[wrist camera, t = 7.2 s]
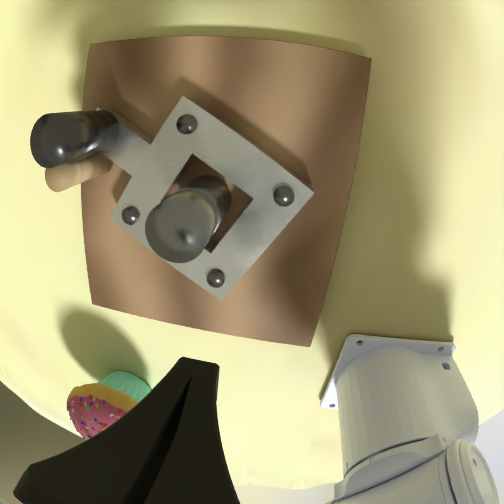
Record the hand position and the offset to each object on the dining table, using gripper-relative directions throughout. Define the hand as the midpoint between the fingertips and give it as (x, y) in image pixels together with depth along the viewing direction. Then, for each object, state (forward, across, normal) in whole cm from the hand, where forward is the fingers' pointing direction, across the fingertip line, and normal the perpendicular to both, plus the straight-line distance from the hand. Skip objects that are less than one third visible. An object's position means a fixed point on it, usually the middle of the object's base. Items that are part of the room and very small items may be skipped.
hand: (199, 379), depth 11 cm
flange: (+9, +4, -5) cm, 11 cm away
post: (+10, +2, -4) cm, 11 cm away
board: (+10, +2, -4) cm, 11 cm away
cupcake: (+10, +9, +15) cm, 20 cm away
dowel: (+10, +9, -6) cm, 14 cm away
